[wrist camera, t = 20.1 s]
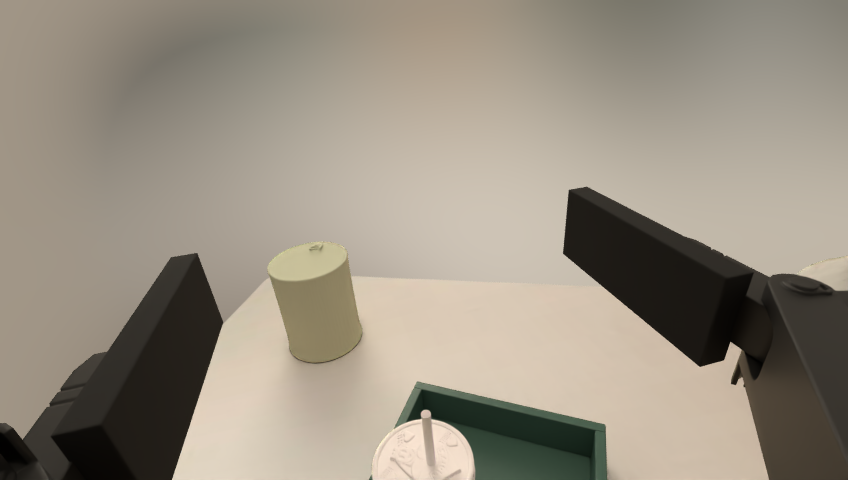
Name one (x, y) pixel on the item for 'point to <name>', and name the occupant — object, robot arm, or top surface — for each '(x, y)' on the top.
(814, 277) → the ceramic pitcher
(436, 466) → the smoothie
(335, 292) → the can
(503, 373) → the top surface
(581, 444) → the bin
